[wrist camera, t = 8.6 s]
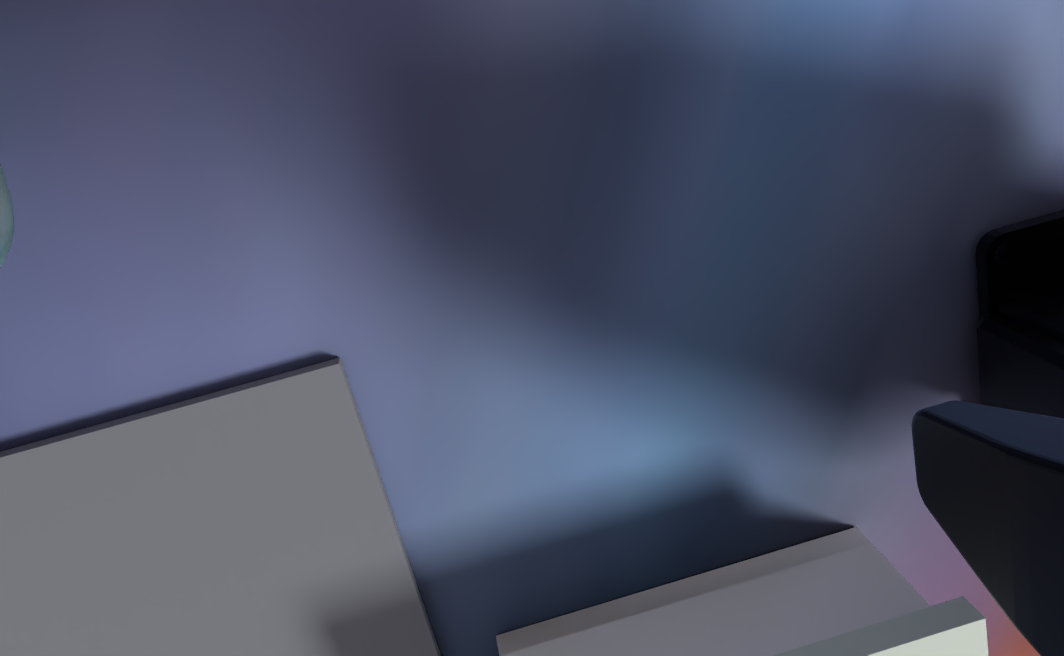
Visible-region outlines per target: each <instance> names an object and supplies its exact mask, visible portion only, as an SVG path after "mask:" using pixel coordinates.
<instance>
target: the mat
mask: <svg viewBox="0 0 1064 656" xmlns="http://www.w3.org/2000/svg"><path fill="white" fill-rule="evenodd" d="M0 656H441V654H440V652H439V649H438V646H437V643H436V640H435V637H434V634H433V631H432V628H431V625H430V622H429V619H428V616H427V613H426V610H425V607H424V604H423V601H422V598H421V595H420V592H419V590H418V587H417V584H416V581H415V578H414V575H413V572H412V569H411V566H410V563H409V560H408V557H407V554H406V551H405V548H404V545H403V542H402V539H401V536H400V533H399V531H398V528H397V525H396V522H395V519H394V516H393V513H392V510H391V507H390V504H389V501H388V498H387V495H386V492H385V489H384V486H383V483H382V480H381V477H380V474H379V471H378V469H377V466H376V463H375V460H374V457H373V454H372V451H371V448H370V445H369V442H368V439H367V436H366V433H365V430H364V427H363V424H362V421H361V418H360V415H359V412H358V409H357V407H356V404H355V401H354V398H353V395H352V392H351V389H350V386H349V383H348V380H347V377H346V374H345V371H344V368H343V365H342V362H341V359H340V357H339V358H336V359H332V360H329V361H325V362H321V363H318V364H314V365H311V366H307V367H303V368H300V369H296V370H293V371H289V372H285V373H282V374H278V375H275V376H271V377H267V378H264V379H260V380H257V381H253V382H249V383H246V384H242V385H239V386H235V387H231V388H228V389H224V390H221V391H217V392H213V393H210V394H206V395H202V396H199V397H195V398H192V399H188V400H184V401H181V402H177V403H174V404H170V405H166V406H163V407H159V408H156V409H152V410H148V411H145V412H141V413H138V414H134V415H130V416H127V417H123V418H120V419H116V420H112V421H109V422H105V423H102V424H98V425H94V426H91V427H87V428H84V429H80V430H76V431H73V432H69V433H66V434H62V435H58V436H55V437H51V438H47V439H44V440H40V441H37V442H33V443H29V444H26V445H22V446H19V447H15V448H11V449H8V450H4V451H1V452H0Z"/></svg>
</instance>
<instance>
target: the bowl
mask: <svg viewBox="0 0 1064 656" xmlns="http://www.w3.org/2000/svg"><path fill="white" fill-rule="evenodd" d="M927 607H930V605H929V604H928V603H927V602H926V601H925V600H924V599H923V598H922V596H921V595H920V594H919V593H918V592H917V591H916V590H915V589H914V588H913V587H912V586H911V585H910V584H909V583H908V582H907V580H906V579H905V578H904V577H903V576H902V575H901V574H900V573H899V572H898V571H897V570H896V569H895V568H894V567H893V566H892V565H891V563H890V562H889V561H888V560H887V559H886V558H885V557H884V556H883V555H882V554H881V553H880V552H879V551H878V550H877V549H876V548H875V546H874V545H873V544H872V543H871V542H870V541H869V540H868V539H867V538H866V537H865V536H864V535H863V534H862V533H861V532H860V531H859V529H858V528H857V527H854V528H851V529H848V530H844V531H841V532H838V533H834V534H831V535H828V536H824V537H821V538H818V539H814V540H811V541H808V542H804V543H801V544H798V545H795V546H791V547H788V548H785V549H781V550H778V551H775V552H771V553H768V554H765V555H761V556H758V557H755V558H751V559H748V560H745V561H742V562H738V563H735V564H732V565H728V566H725V567H722V568H718V569H715V570H712V571H708V572H705V573H702V574H698V575H695V576H692V577H689V578H685V579H682V580H679V581H675V582H672V583H669V584H665V585H662V586H659V587H655V588H652V589H649V590H646V591H642V592H639V593H636V594H632V595H629V596H626V597H622V598H619V599H616V600H612V601H609V602H606V603H602V604H599V605H596V606H593V607H589V608H586V609H583V610H579V611H576V612H573V613H569V614H566V615H563V616H559V617H556V618H553V619H549V620H546V621H543V622H540V623H536V624H533V625H530V626H526V627H523V628H520V629H516V630H513V631H510V632H506V633H503V634H500V635H496V640H497V646H498V652H499V656H774V655H777V654H780V653H783V652H786V651H790V650H793V649H796V648H799V647H802V646H806V645H809V644H812V643H815V642H818V641H822V640H825V639H828V638H831V637H834V636H838V635H841V634H844V633H847V632H850V631H854V630H857V629H860V628H863V627H866V626H870V625H873V624H876V623H879V622H882V621H886V620H889V619H892V618H895V617H898V616H902V615H905V614H908V613H911V612H914V611H918V610H921V609H924V608H927Z"/></svg>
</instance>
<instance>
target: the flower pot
mask: <svg viewBox="0 0 1064 656" xmlns="http://www.w3.org/2000/svg"><path fill="white" fill-rule="evenodd" d="M13 228H14V214H13V206H12V200H11V195H10V192H9V189H8V186H7V183H6V180H5V177H4V174H3V170H2V168H1V165H0V267H1V266H2V264H3V262H4V260H5V258H6V256H7V254H8V251H9V248H10V245H11V242H12V237H13Z"/></svg>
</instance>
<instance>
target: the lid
mask: <svg viewBox="0 0 1064 656" xmlns="http://www.w3.org/2000/svg"><path fill="white" fill-rule="evenodd" d="M774 656H988V645H987V632H986V619H985V617H984V616H983V615H982V614H981V613H980V612H979V611H977V610H976V609H975V608H974V607H973V606H972V605H971V604H970V603H969V602H968V601H967V600H966V599H965V598H964V597H963V596H962V597H959V598H956V599H953V600H949V601H946V602H943V603H940V604H937V605H934V606H930V607H927V608H924V609H921V610H918V611H914V612H911V613H908V614H905V615H902V616H898V617H895V618H892V619H889V620H886V621H882V622H879V623H876V624H873V625H870V626H866V627H863V628H860V629H857V630H854V631H850V632H847V633H844V634H841V635H838V636H834V637H831V638H828V639H825V640H822V641H818V642H815V643H812V644H809V645H806V646H802V647H799V648H796V649H793V650H790V651H786V652H783V653H780V654H777V655H774Z"/></svg>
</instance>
